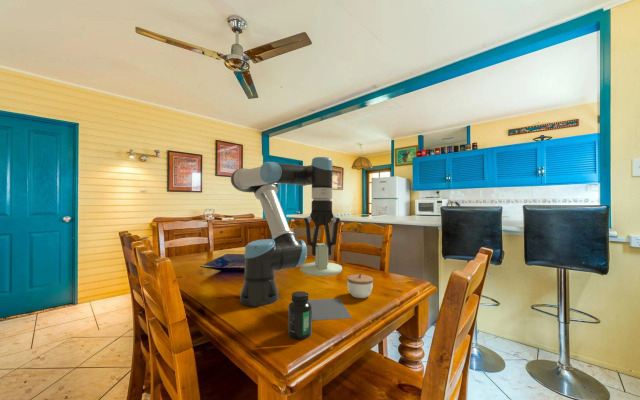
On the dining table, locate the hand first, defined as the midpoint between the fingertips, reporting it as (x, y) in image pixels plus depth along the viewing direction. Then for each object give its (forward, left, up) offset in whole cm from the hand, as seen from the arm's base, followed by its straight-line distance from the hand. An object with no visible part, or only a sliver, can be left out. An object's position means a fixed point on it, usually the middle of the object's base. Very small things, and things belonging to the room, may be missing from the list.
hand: (321, 264), depth 94 cm
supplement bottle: (-9, -17, -17) cm, 26 cm away
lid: (0, 0, -2) cm, 2 cm away
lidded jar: (+18, +11, -17) cm, 27 cm away
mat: (0, 0, -16) cm, 16 cm away
